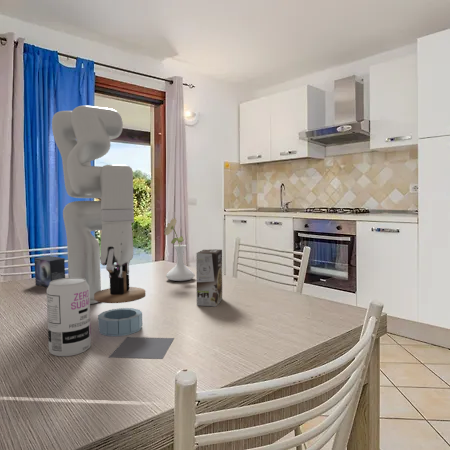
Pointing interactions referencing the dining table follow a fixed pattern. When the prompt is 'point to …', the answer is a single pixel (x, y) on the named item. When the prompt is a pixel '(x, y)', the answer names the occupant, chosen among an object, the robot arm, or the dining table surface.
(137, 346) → the mat
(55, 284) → the supplement can
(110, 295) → the lid
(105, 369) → the dining table surface
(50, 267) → the small box
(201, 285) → the coffee box
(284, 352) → the dining table surface
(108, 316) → the bowl
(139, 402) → the dining table surface
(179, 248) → the flower in vase
